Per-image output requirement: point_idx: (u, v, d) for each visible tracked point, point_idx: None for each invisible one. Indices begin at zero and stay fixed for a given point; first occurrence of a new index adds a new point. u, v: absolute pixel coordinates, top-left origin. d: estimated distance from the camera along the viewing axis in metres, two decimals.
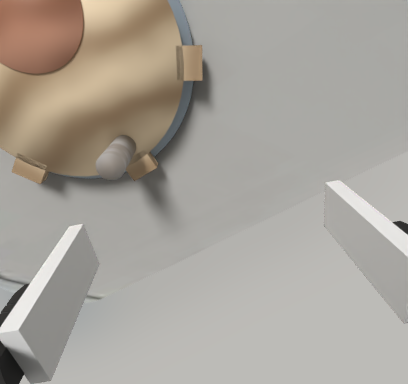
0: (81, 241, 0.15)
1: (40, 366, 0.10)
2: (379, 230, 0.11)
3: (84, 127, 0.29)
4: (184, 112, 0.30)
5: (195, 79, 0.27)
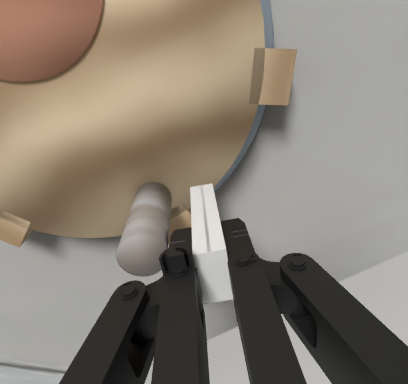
0: None
1: (217, 286, 0.12)
2: (205, 225, 0.13)
3: (93, 168, 0.18)
4: (251, 139, 0.20)
5: (277, 103, 0.17)
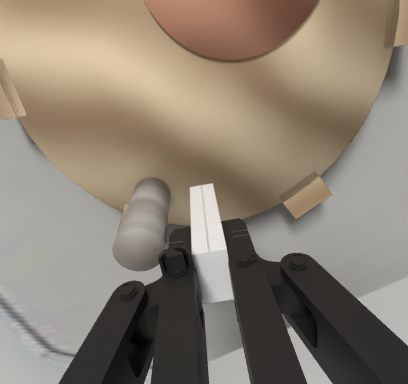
0: None
1: (216, 287, 0.12)
2: (206, 225, 0.13)
3: (134, 132, 0.17)
4: None
5: (292, 212, 0.20)
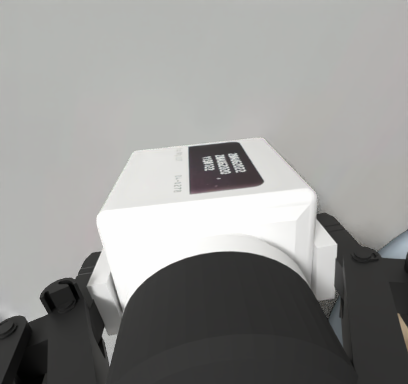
0: None
1: (119, 318, 0.11)
2: None
3: None
4: None
5: None
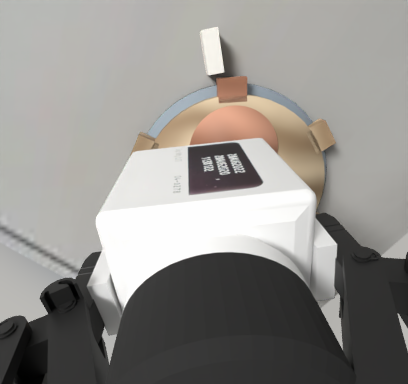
0: None
1: (119, 318, 0.11)
2: None
3: None
4: (324, 180, 0.37)
5: None
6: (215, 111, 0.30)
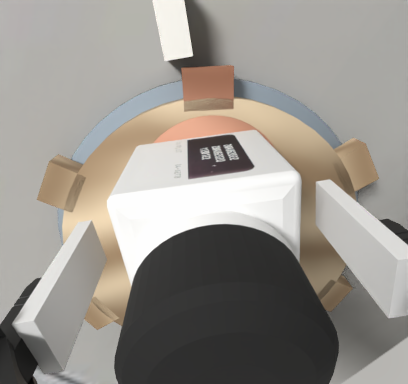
0: (90, 237, 0.15)
1: (54, 356, 0.10)
2: (365, 228, 0.11)
3: None
4: None
5: (325, 308, 0.25)
6: (178, 125, 0.17)
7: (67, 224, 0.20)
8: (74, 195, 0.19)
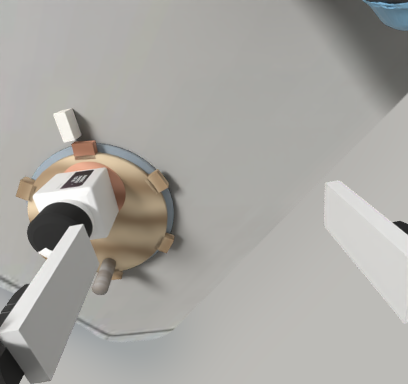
0: (81, 241, 0.15)
1: (40, 366, 0.10)
2: (379, 230, 0.11)
3: None
4: (172, 211, 0.49)
5: (163, 251, 0.50)
6: (73, 165, 0.42)
7: (29, 207, 0.45)
8: (32, 194, 0.44)
